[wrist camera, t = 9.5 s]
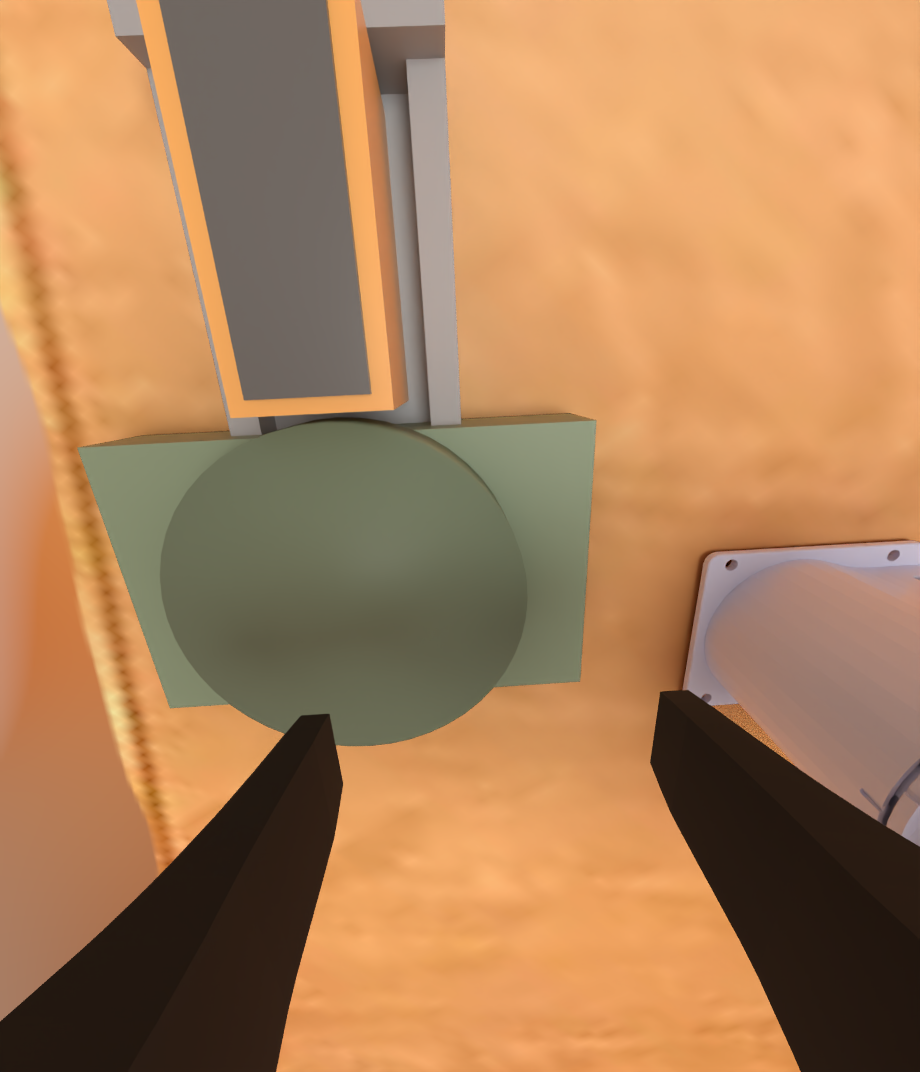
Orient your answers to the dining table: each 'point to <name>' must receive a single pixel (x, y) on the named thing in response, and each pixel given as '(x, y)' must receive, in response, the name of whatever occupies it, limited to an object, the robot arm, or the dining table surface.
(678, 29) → the dining table surface
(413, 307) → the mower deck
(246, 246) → the orange-framed grey panel
